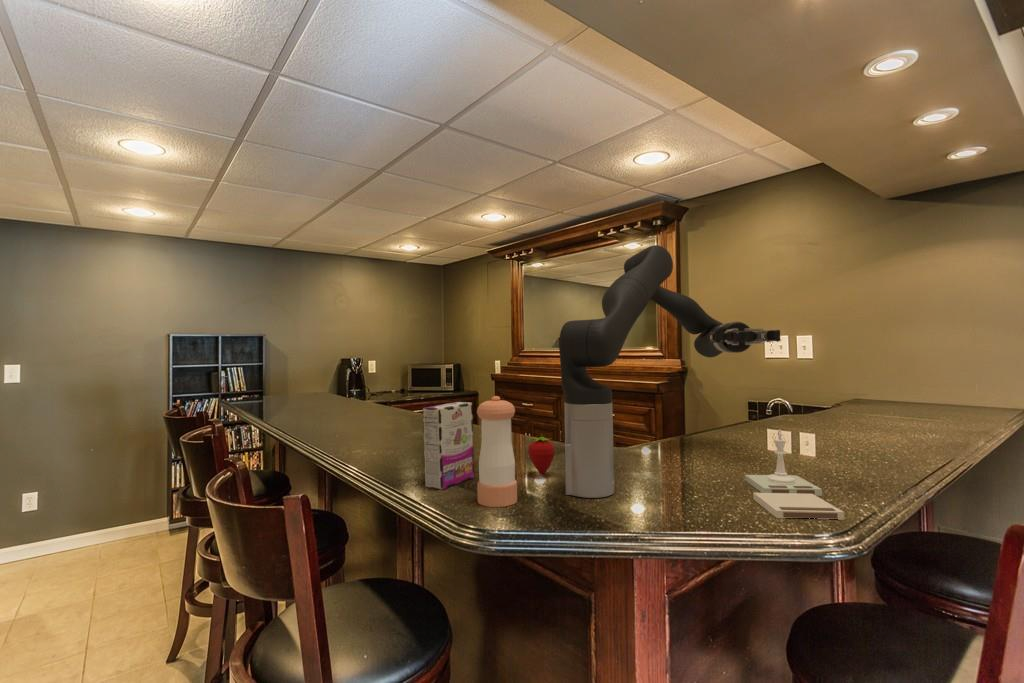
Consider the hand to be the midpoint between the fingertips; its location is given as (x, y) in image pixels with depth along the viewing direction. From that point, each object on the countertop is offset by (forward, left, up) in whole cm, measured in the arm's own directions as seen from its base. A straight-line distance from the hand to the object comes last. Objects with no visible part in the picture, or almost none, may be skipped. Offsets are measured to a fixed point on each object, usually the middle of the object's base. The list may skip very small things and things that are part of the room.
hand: (755, 335), depth 106 cm
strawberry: (-47, -4, -30) cm, 56 cm away
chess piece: (0, -11, -29) cm, 31 cm away
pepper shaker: (-54, -23, -30) cm, 66 cm away
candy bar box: (-66, -11, -30) cm, 73 cm away
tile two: (0, -11, -30) cm, 32 cm away
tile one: (-3, -24, -30) cm, 39 cm away
